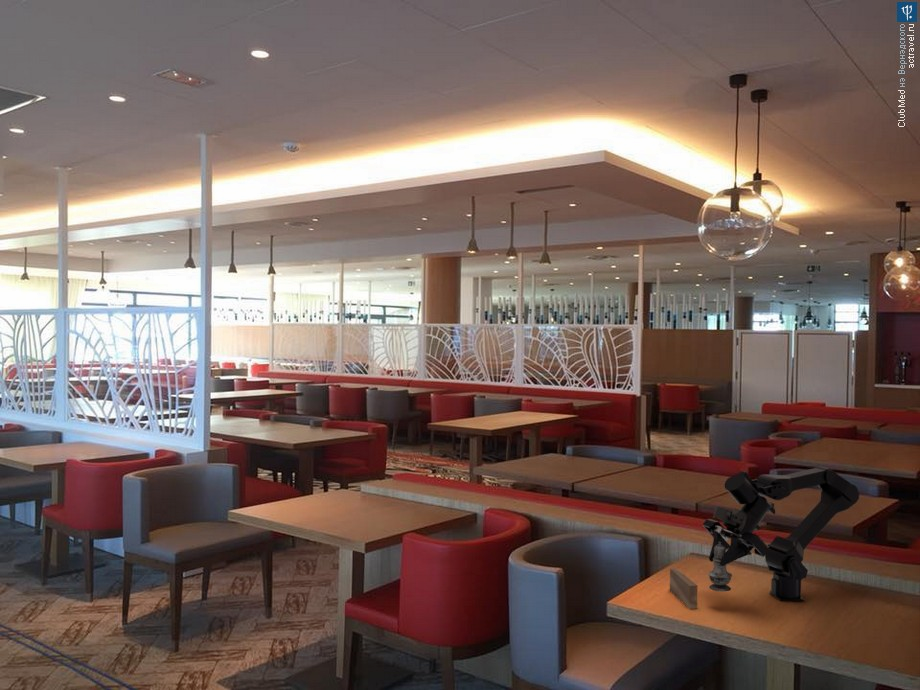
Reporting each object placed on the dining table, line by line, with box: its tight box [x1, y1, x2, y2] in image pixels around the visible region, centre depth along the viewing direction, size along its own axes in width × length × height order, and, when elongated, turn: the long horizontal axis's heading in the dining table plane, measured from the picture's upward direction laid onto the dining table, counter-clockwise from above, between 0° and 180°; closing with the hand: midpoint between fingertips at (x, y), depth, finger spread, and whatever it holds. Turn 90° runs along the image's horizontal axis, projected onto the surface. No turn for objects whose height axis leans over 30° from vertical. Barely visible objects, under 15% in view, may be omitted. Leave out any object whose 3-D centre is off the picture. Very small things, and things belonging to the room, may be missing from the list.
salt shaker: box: [707, 541, 733, 592], centre depth 199 cm, size 6×6×12 cm
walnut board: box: [669, 568, 698, 610], centre depth 205 cm, size 2×14×6 cm, turn 5°
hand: (715, 562), depth 198 cm, fingers closed on salt shaker, 4 cm apart
